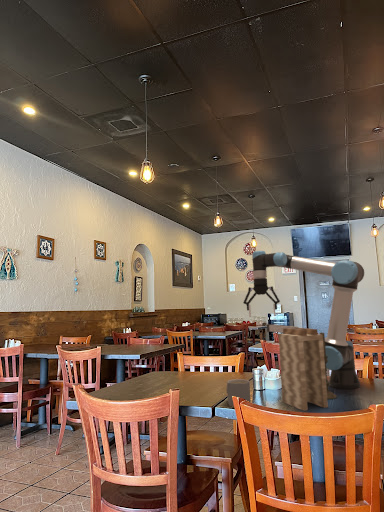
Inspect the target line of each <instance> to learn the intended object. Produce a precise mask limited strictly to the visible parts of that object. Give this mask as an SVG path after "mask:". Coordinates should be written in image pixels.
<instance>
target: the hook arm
mask: <svg viewBox="0 0 384 512" xmlns="http://www.w3.org/2000/svg"><path fill="white" fill-rule="evenodd" d="M283 328H289V329H298V328H299V326H293V325H281V324H280V325H279V324H278V325H277V324H273V323H270V324H269V323H267V324H266V332H267V333H269V332H270V333H271V332H273V333H279V334H283Z"/></svg>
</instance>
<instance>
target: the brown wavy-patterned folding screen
mask: <svg viewBox="0 0 384 512" xmlns="http://www.w3.org/2000/svg"><path fill="white" fill-rule="evenodd" d="M278 347H279V364H280V381H281V382H280V383H281V396H282V397H281V399H282V403H284V404H287V405H289V406H292V407H294V408H296V409H299V410H300V411H303V412H304V411H308V409H309V408H308V403H311V404H313V405H315V406H318V407H321V408H329V404H328V400H329V399H327V387H326V374H325V360H324V347H323V335H321V334H320V333H318V329H317V328H306V327H298V329H289V328H283V333H278Z"/></svg>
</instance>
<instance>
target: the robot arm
mask: <svg viewBox="0 0 384 512" xmlns="http://www.w3.org/2000/svg"><path fill="white" fill-rule="evenodd" d="M251 260H252V270H253V271H252V274H253V276H252V277H253V287H250V286H249V287H248V289H247V290H248V291H247V294H246V295H245V297H244V300H243V304H244V305H246V311H248V316H249V318H250V317H252V312H251V311H252V310H251V309H252V308H251V305H250V303H251V302H252V301H253V299H255V297H256V296H257V295H258V296H261V295H266V296H267V297H268V298H269V299H270V300H271V301H272V303H273V316H274V317H276V310H277V309H278V304H279V303H280V302H281V301H280V299H279V297H278V295H277V293H276V292H275V290H274V287H273V285H272V286H268V279H267V277H268V275H267V268H273V267H274V268H275V267H277V268H285V269H290V270H297V271H301V272H307V273H313V274H316V275H322V276H326V277H327V276H328V277H331V278H332V283H331V284H332V285H331V286H332V288H333V289H334V292H333V299H332V304H331V312H330V316H329V322H328V330H327V336H326V337H325V349H326V356H328V358H327V360H328V362H327V363H326V368H327V370H329V371H331V372H330V374H329V375H330V376H329V379H328V382H329V383H330V384H329V387H332V388H333V389H342V390H343V389H344V390H352V389H358V388H360V387H361V382H360V379H359V376H358V374H357V372H356V362H355V351H354V350H355V349H354V344H353V341H351V340H346V338H347V333H348V326H349V320H350V314H351V307H352V302H353V296H354V292H356V291H357V290H358V286H359V283H360V282H362V280H363V279H364V277H365V270H364V269H365V268H364V267H363V266H362V265H361V264H360V263H358V262H356V261H352V260H348V259H344V260H340V261H337V262H334V261H327V260H323V259H322V260H321V259H315V258H307V257H302V256H297V255H290V254H286V253H285V252H283V251H282V252H280V251H277V252H273V253H272V252H271V253H266V251H265V250H256V251H253V252H252V259H251ZM268 290H270V291H271V293H272V294H273V296H274V298H275V299H274V298H273V297H272V296H271V295H270V294H269V292H268ZM252 291H254V293H253V294H252V295H251V297H250V298H249V296H250V294H251V292H252ZM248 298H249V300H248Z"/></svg>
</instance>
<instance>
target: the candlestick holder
mask: <svg viewBox="0 0 384 512" xmlns="http://www.w3.org/2000/svg"><path fill="white" fill-rule="evenodd" d="M319 334H321V335H323V347H324V360H325V374H326V387H327V400H335V399H337V398H338V396H337V394H335V393H334V392H332V391H330V390H329V387H330V386H329V384H330V383H329V380H328V379H327V378H328V374H327V373H328V372H327V370H328V369H327V368H326V363H327V362H328V360H327V358H328V356H326V349H325V338H326V337H325V332H322V331H320V332H319Z"/></svg>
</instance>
